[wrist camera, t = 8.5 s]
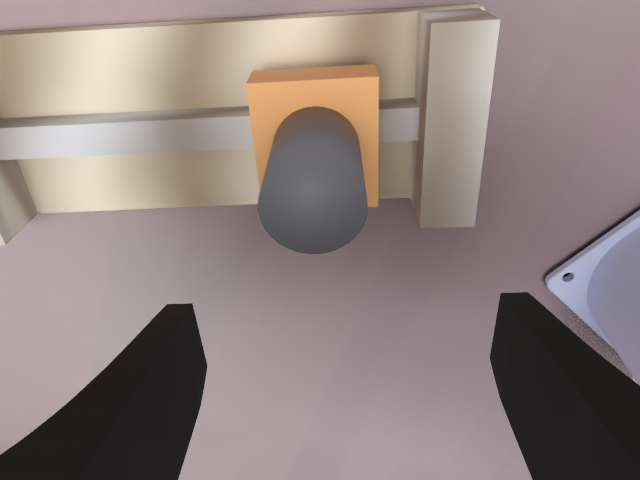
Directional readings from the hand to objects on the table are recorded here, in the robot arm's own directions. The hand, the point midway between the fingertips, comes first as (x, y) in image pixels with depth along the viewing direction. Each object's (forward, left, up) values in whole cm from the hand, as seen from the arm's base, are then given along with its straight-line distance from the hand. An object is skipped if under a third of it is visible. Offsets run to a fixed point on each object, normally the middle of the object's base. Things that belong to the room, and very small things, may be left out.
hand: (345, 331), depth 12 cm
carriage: (-1, -2, -9) cm, 9 cm away
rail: (+2, -5, -10) cm, 12 cm away
